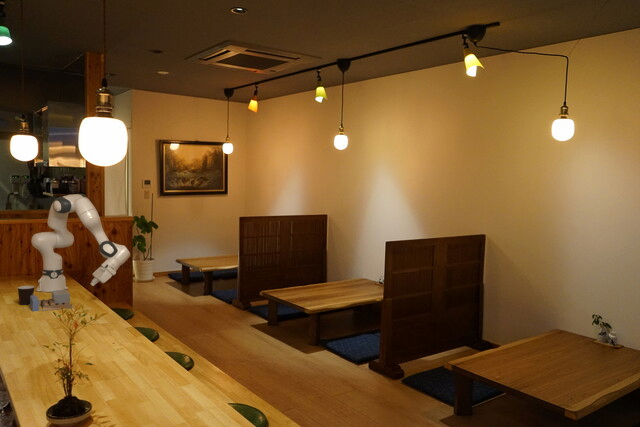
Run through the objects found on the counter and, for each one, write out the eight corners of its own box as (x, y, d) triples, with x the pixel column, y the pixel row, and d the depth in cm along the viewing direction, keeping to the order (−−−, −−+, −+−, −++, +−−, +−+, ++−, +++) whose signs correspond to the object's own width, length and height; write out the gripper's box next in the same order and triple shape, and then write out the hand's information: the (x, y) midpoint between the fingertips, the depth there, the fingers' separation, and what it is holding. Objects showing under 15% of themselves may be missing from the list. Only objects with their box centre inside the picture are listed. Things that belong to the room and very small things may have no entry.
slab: (51, 299, 298) (51, 290, 297) (66, 297, 302) (66, 289, 302) (54, 303, 288) (54, 295, 288) (69, 302, 293) (70, 293, 292)
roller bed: (38, 304, 297) (38, 299, 296) (66, 301, 305) (66, 296, 305) (42, 311, 282) (42, 305, 282) (72, 308, 291) (72, 303, 291)
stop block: (29, 305, 292) (30, 295, 292) (35, 305, 294) (35, 295, 294) (32, 311, 281) (32, 300, 281) (38, 310, 283) (39, 300, 282)
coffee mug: (28, 306, 292) (28, 289, 291) (14, 305, 292) (14, 288, 291) (40, 301, 303) (40, 285, 303) (26, 300, 303) (26, 284, 303)
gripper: (100, 261, 317) (83, 278, 312) (109, 267, 300) (91, 284, 295) (108, 268, 320) (91, 284, 314) (116, 274, 303) (99, 291, 298)
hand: (91, 284), depth 305 cm, fingers closed
